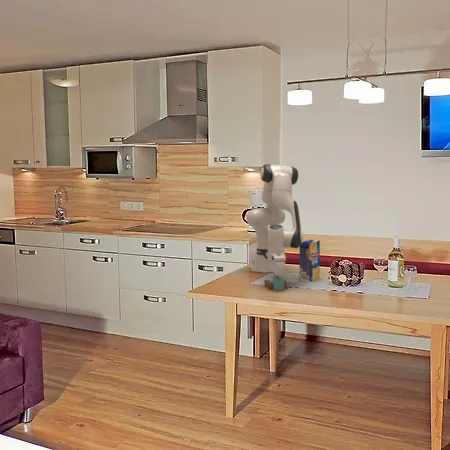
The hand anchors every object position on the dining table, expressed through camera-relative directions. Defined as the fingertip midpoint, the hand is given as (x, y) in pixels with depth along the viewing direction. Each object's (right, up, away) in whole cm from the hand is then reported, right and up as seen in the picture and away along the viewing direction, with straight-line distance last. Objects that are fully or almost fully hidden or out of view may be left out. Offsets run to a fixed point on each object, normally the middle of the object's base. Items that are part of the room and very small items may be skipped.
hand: (276, 280), depth 308 cm
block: (+1, -4, -4) cm, 6 cm away
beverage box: (+21, -1, +20) cm, 29 cm away
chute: (0, -4, +1) cm, 4 cm away
